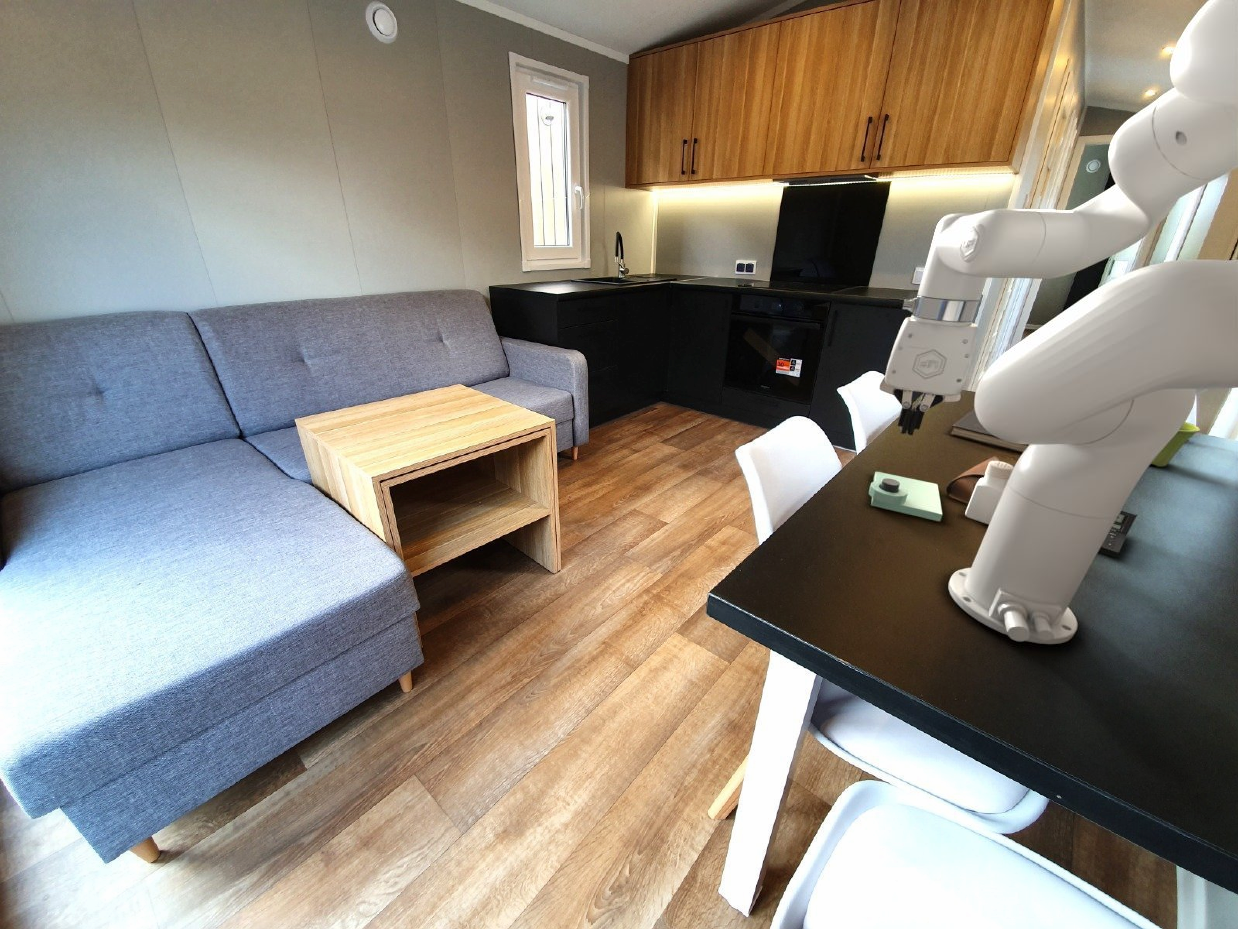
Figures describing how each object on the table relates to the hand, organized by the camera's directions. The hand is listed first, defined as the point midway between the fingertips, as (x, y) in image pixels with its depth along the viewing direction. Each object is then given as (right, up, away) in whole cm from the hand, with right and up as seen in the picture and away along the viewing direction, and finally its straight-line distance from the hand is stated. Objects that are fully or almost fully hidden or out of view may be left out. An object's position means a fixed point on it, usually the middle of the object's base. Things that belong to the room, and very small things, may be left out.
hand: (906, 431), depth 77 cm
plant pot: (+66, -5, +26) cm, 71 cm away
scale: (+4, -11, +8) cm, 14 cm away
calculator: (+28, -16, 0) cm, 32 cm away
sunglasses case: (+21, -10, +11) cm, 26 cm away
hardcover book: (+45, +2, +39) cm, 60 cm away
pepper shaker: (+13, -14, +2) cm, 20 cm away
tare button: (0, -9, +4) cm, 10 cm away
